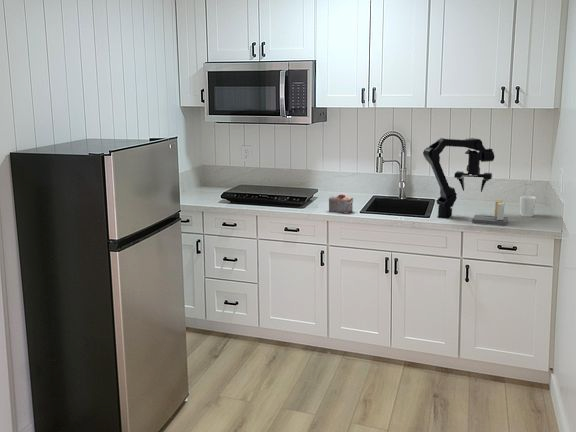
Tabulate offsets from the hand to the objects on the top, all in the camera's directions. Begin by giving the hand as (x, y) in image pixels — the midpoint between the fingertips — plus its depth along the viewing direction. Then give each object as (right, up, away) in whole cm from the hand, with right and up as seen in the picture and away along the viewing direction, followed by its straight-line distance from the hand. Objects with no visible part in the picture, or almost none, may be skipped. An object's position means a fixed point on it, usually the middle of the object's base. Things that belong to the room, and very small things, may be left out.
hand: (472, 191), depth 314 cm
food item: (-69, -11, +17) cm, 72 cm away
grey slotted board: (+5, -16, -13) cm, 22 cm away
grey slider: (+8, -15, -18) cm, 25 cm away
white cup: (+29, -13, -1) cm, 32 cm away
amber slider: (+10, -13, -12) cm, 20 cm away
